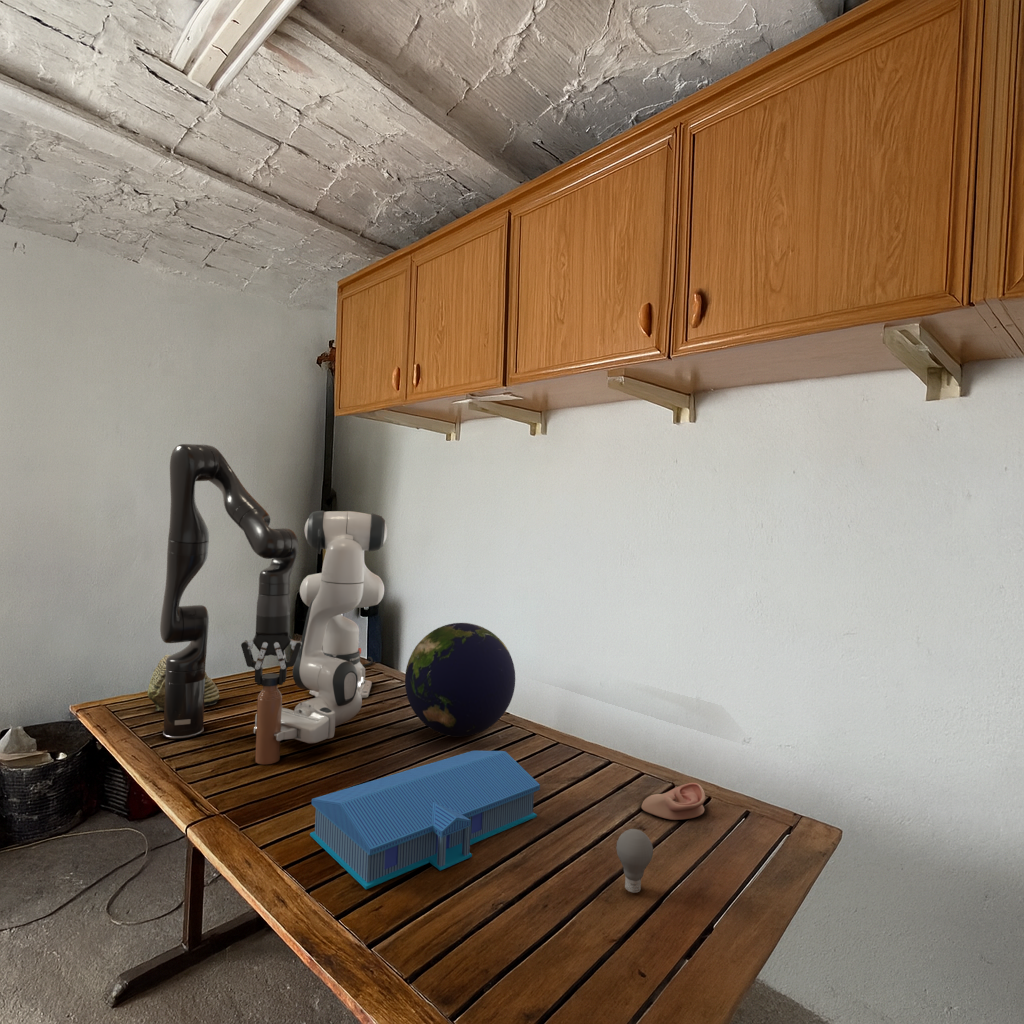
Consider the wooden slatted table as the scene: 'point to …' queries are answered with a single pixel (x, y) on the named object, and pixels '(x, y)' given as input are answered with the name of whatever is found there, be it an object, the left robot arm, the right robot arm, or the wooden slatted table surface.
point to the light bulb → (634, 857)
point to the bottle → (268, 725)
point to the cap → (270, 679)
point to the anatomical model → (677, 802)
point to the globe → (460, 679)
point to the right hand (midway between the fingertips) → (265, 734)
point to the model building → (423, 815)
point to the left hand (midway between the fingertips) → (270, 683)
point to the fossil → (158, 687)
